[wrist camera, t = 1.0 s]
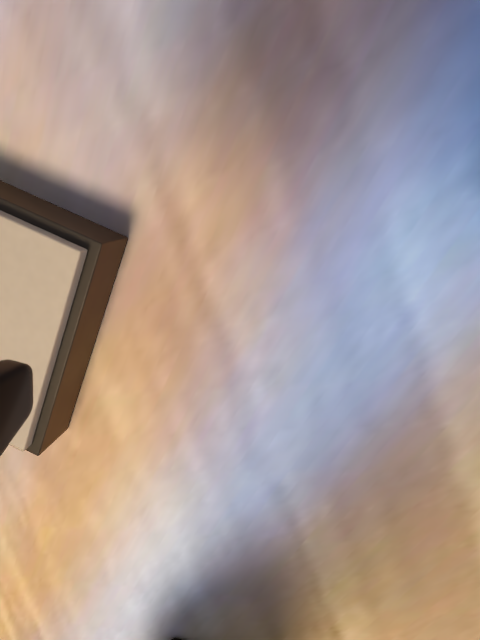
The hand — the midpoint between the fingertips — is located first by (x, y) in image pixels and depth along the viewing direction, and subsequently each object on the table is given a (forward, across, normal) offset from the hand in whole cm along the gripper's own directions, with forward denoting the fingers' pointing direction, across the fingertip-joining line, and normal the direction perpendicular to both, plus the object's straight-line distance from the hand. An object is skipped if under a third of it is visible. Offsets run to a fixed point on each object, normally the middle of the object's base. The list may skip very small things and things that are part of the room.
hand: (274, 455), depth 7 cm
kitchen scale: (+14, +16, +6) cm, 22 cm away
